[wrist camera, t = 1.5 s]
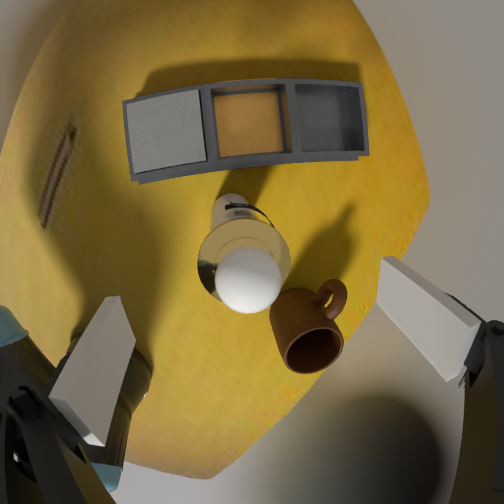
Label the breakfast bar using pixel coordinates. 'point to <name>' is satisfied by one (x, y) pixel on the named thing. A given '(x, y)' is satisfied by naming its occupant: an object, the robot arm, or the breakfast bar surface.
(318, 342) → the mug
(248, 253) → the perfume bottle
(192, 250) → the breakfast bar surface
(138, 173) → the rack
